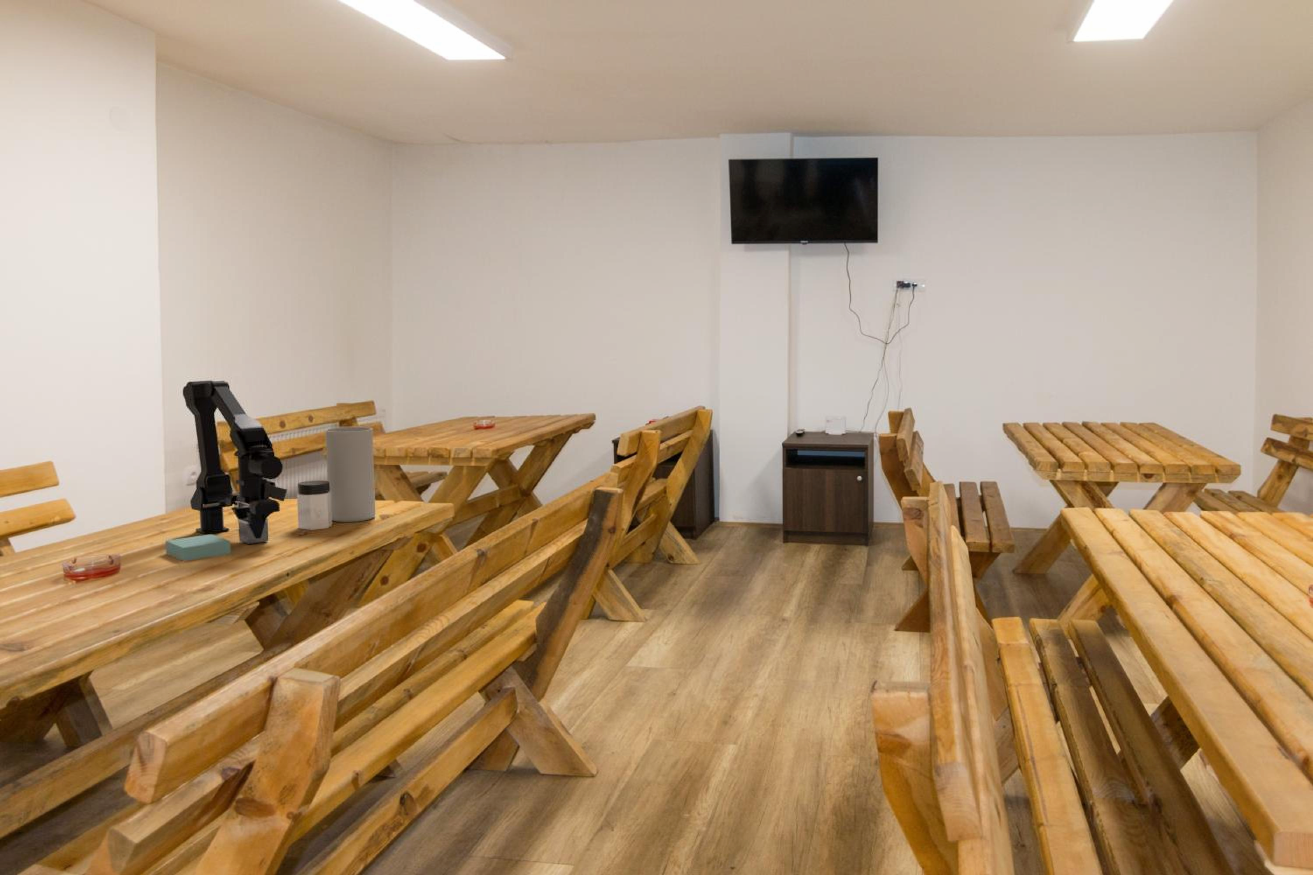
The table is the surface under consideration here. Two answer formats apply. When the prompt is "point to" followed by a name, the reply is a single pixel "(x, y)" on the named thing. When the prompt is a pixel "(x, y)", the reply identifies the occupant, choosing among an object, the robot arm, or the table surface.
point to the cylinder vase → (351, 473)
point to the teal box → (197, 547)
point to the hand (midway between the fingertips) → (253, 536)
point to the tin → (251, 532)
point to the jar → (314, 505)
